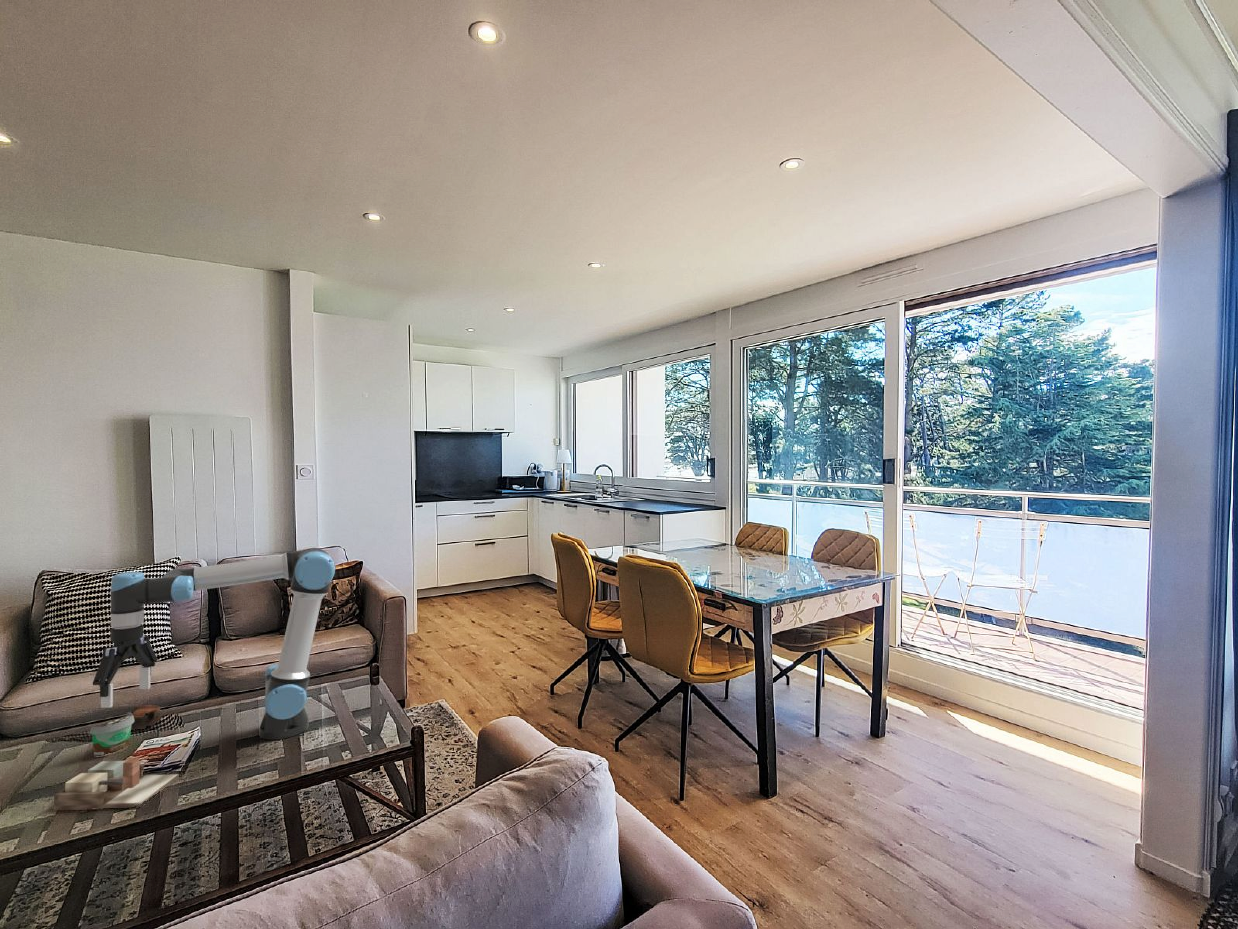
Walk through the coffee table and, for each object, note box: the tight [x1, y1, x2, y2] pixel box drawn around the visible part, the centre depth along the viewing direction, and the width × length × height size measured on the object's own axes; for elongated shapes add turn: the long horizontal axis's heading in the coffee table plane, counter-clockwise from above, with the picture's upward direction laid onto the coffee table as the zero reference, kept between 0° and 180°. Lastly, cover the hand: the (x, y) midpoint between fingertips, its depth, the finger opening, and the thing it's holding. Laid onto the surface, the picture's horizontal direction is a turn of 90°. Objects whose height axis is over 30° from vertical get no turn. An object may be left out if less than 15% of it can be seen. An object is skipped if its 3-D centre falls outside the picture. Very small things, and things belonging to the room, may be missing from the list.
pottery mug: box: [131, 704, 162, 731], centre depth 209 cm, size 12×10×8 cm
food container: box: [89, 711, 134, 756], centre depth 190 cm, size 12×6×10 cm, turn 168°
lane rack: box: [53, 760, 180, 811], centre depth 166 cm, size 22×15×6 cm
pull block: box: [64, 757, 141, 793], centre depth 162 cm, size 16×5×10 cm, turn 93°
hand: (126, 697), depth 173 cm, fingers open, 13 cm apart
